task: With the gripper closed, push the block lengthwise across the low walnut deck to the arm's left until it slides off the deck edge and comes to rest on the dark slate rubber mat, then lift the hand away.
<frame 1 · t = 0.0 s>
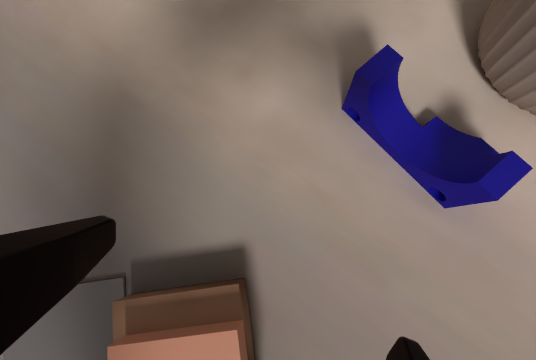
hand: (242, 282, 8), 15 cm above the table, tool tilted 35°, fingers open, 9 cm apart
deck: (193, 357, 21), on the table
cable clip: (407, 140, 23), on the table
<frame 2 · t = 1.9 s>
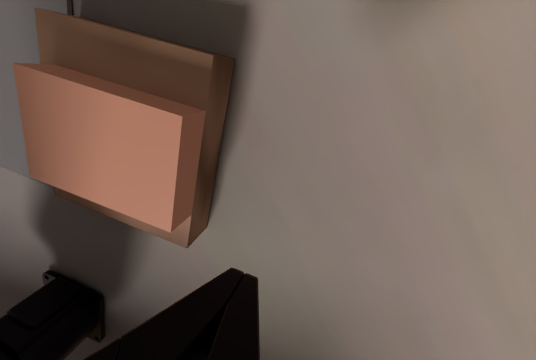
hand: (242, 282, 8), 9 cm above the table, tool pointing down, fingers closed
deck: (148, 131, 17), on the table
mat: (14, 86, 19), on the table
block: (125, 142, 15), point 2 cm above the table, touching deck
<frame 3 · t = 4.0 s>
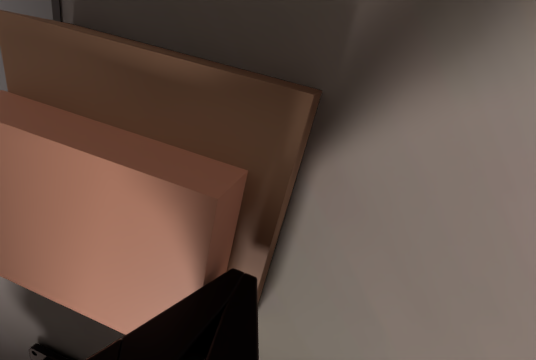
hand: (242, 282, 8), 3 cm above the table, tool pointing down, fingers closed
deck: (173, 188, 12), on the table
block: (116, 207, 10), point 3 cm above the table, touching gripper
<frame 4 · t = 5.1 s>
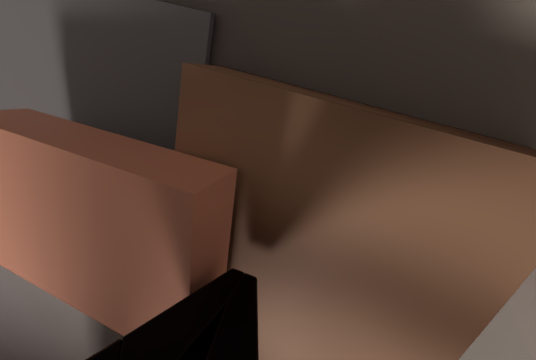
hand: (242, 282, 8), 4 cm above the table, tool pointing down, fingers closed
deck: (313, 239, 11), on the table
mat: (87, 159, 12), on the table
block: (122, 212, 10), point 2 cm above the table, tilted 6°, touching gripper
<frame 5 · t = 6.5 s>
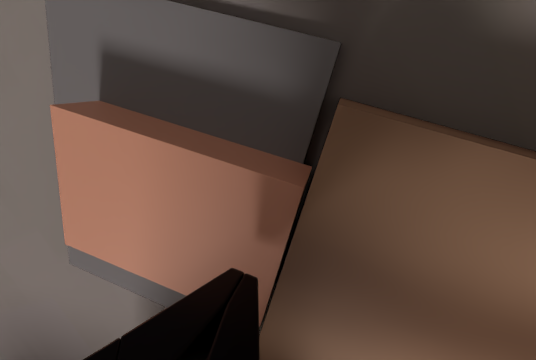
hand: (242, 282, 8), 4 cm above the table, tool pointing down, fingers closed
deck: (419, 279, 10), on the table
mat: (166, 186, 12), on the table
block: (190, 198, 11), resting on mat
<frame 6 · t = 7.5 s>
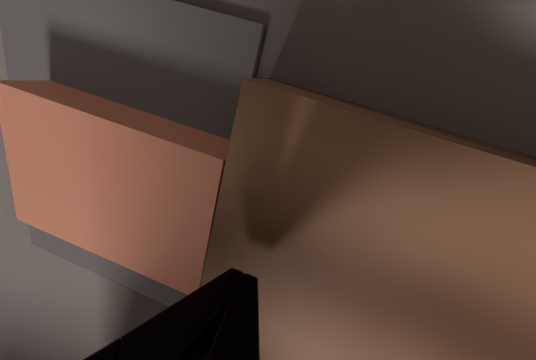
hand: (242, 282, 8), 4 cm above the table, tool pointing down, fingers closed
deck: (350, 255, 11), on the table
mat: (117, 165, 12), on the table
block: (138, 177, 12), resting on mat
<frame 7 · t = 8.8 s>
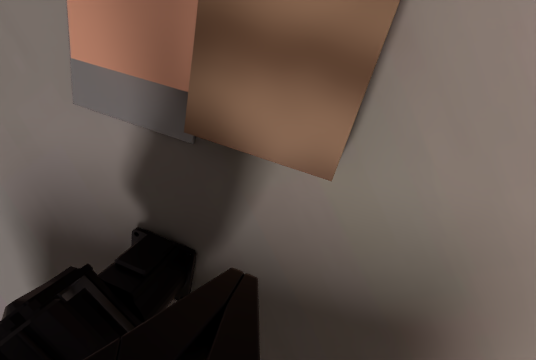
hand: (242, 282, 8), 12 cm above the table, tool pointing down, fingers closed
deck: (285, 64, 17), on the table
mat: (135, 24, 18), on the table
block: (149, 28, 18), resting on mat
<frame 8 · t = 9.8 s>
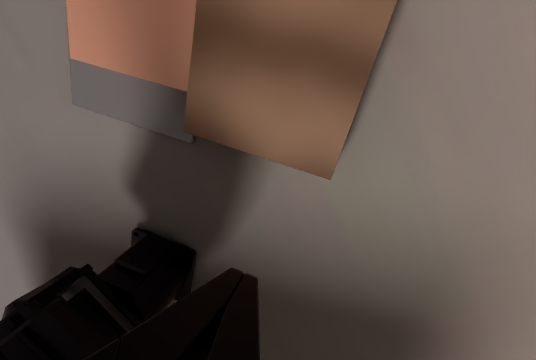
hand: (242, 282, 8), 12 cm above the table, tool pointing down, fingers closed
deck: (284, 64, 17), on the table
mat: (134, 24, 18), on the table
block: (148, 28, 18), resting on mat
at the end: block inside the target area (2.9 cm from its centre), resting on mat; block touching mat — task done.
